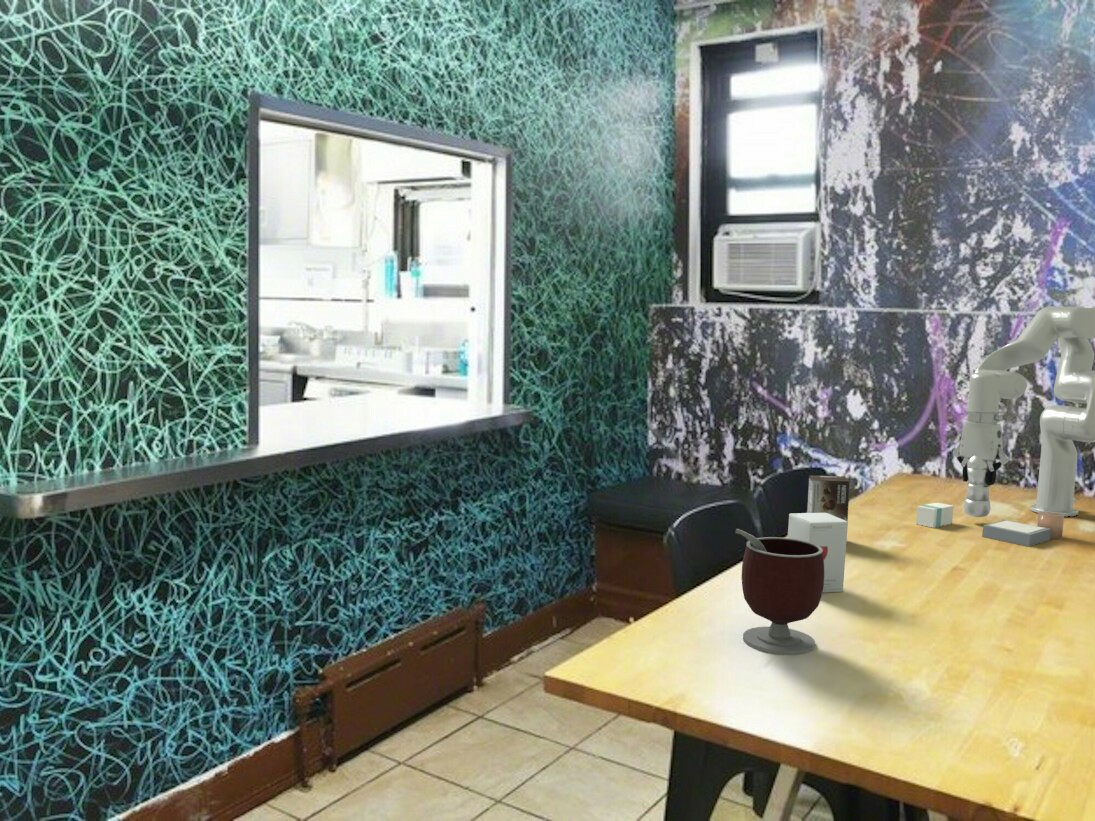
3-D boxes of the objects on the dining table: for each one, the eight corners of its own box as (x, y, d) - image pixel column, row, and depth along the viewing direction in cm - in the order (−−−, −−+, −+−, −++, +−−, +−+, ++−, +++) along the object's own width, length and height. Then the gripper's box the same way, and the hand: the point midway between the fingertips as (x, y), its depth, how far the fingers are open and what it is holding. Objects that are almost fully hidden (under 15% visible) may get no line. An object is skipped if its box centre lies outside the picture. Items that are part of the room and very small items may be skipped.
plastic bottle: (993, 519, 265) (998, 447, 262) (968, 519, 265) (973, 446, 262) (983, 513, 271) (988, 443, 269) (959, 513, 272) (964, 442, 269)
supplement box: (805, 594, 198) (809, 522, 196) (783, 581, 206) (787, 512, 205) (844, 592, 200) (849, 521, 198) (821, 579, 209) (825, 511, 207)
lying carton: (934, 520, 271) (936, 502, 271) (952, 523, 268) (953, 505, 267) (915, 524, 265) (917, 506, 265) (933, 528, 261) (934, 509, 261)
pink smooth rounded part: (1042, 532, 260) (1044, 510, 259) (1065, 537, 255) (1068, 515, 254) (1032, 535, 256) (1034, 513, 255) (1055, 540, 251) (1058, 517, 250)
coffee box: (841, 538, 246) (845, 476, 244) (846, 545, 240) (851, 480, 238) (804, 536, 247) (808, 474, 245) (809, 543, 240) (813, 479, 239)
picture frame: (1004, 530, 260) (1005, 519, 260) (1050, 540, 251) (1051, 528, 251) (982, 536, 253) (983, 524, 253) (1028, 546, 244) (1029, 534, 243)
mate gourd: (806, 629, 177) (812, 521, 174) (830, 657, 163) (838, 540, 161) (721, 627, 176) (727, 519, 174) (738, 655, 162) (745, 538, 160)
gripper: (1020, 420, 260) (1016, 486, 263) (959, 413, 274) (955, 476, 276) (1007, 422, 256) (1003, 490, 258) (945, 415, 269) (941, 479, 271)
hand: (978, 482), depth 267 cm, fingers closed on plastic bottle, 5 cm apart
